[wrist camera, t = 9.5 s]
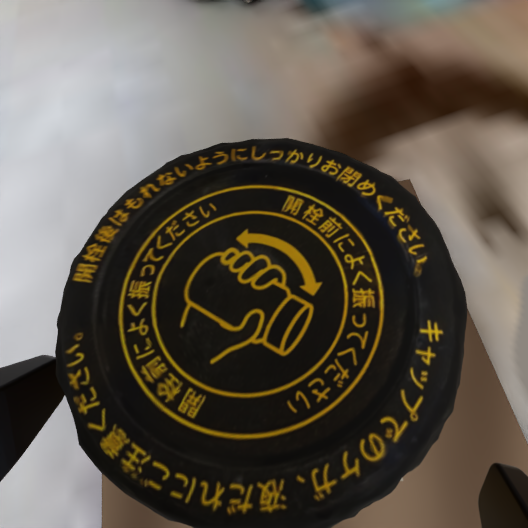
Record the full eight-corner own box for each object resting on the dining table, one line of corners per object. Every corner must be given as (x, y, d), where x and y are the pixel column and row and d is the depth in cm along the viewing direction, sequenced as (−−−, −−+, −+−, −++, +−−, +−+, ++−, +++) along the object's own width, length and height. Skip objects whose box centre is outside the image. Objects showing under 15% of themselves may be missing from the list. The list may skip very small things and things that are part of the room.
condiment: (205, 499, 14) (-120, 695, 3) (201, 288, 18) (42, 50, 7) (402, 480, 14) (775, 627, 3) (356, 270, 17) (447, -12, 7)
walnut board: (117, 645, 13) (101, 663, 12) (113, 253, 20) (102, 243, 19) (558, 554, 13) (581, 565, 12) (403, 193, 20) (409, 179, 19)
